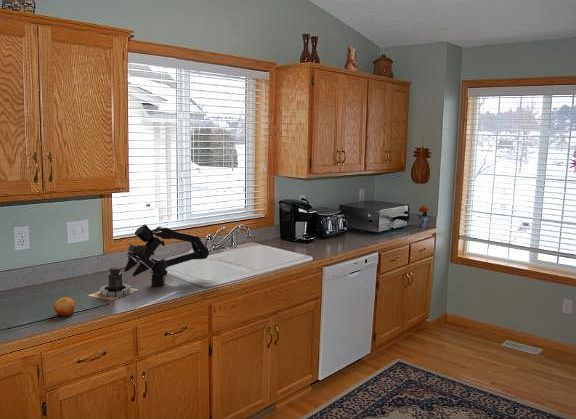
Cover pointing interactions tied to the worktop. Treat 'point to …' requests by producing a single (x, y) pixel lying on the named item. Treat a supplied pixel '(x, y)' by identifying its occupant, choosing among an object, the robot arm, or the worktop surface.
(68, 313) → the fruit
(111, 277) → the supplement bottle
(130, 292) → the oak board
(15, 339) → the worktop surface
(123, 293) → the steel ring
